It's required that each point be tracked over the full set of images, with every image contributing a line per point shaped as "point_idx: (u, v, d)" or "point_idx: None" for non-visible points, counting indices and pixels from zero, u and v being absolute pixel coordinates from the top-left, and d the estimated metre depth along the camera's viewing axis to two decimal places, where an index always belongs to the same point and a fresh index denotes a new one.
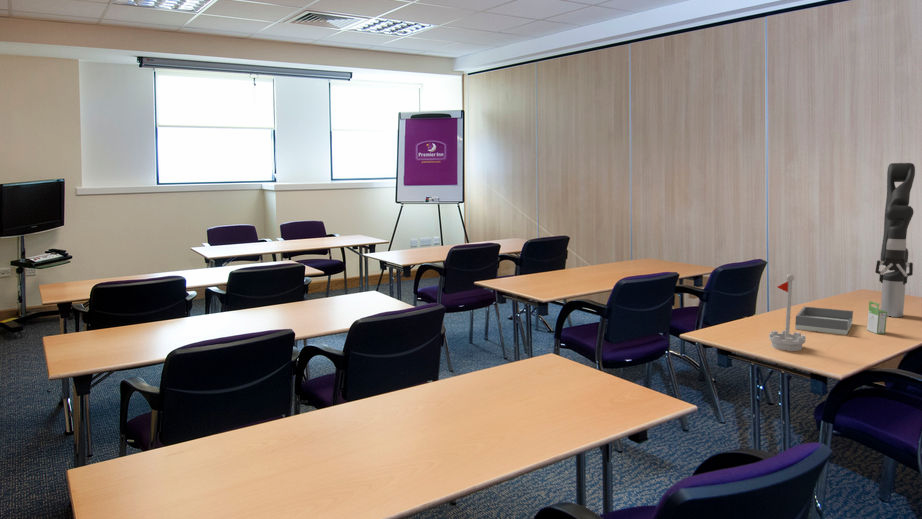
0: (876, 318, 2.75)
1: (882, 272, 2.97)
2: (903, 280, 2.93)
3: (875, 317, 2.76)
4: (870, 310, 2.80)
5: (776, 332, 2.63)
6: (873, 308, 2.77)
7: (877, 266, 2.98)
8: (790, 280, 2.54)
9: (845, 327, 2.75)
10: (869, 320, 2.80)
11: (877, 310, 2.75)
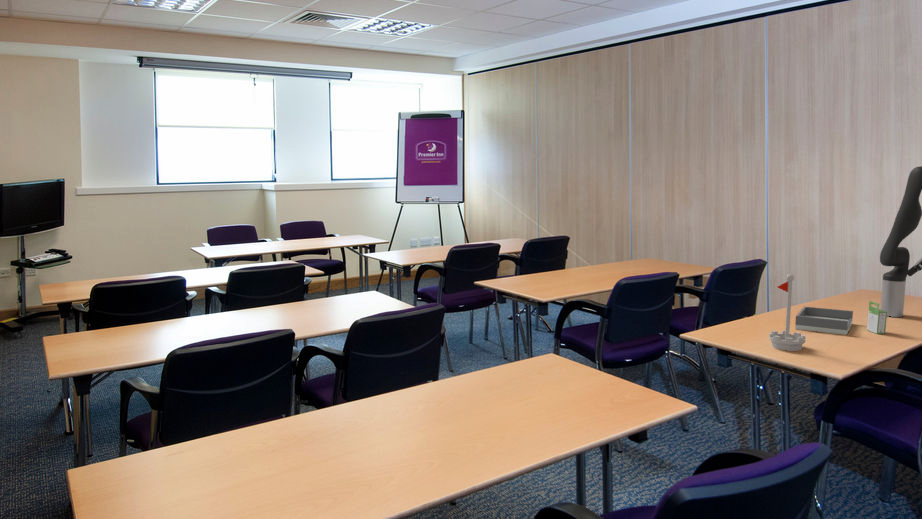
0: (876, 318, 2.75)
1: None
2: None
3: (875, 317, 2.76)
4: (870, 310, 2.80)
5: (776, 332, 2.63)
6: (873, 308, 2.77)
7: None
8: (790, 280, 2.54)
9: (845, 327, 2.75)
10: (869, 320, 2.80)
11: (877, 310, 2.75)
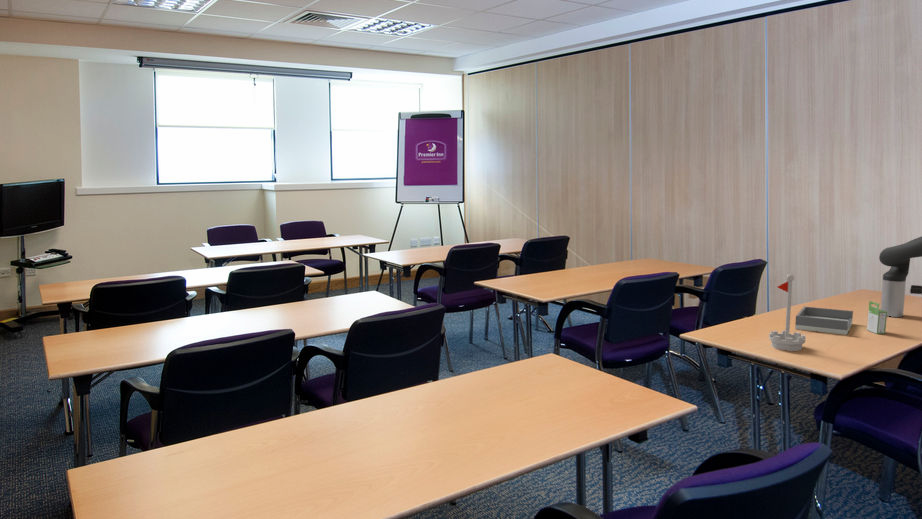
0: (876, 318, 2.75)
1: None
2: None
3: (875, 317, 2.76)
4: (870, 310, 2.80)
5: (776, 332, 2.63)
6: (873, 308, 2.77)
7: None
8: (790, 280, 2.54)
9: (845, 327, 2.75)
10: (869, 320, 2.80)
11: (877, 310, 2.75)
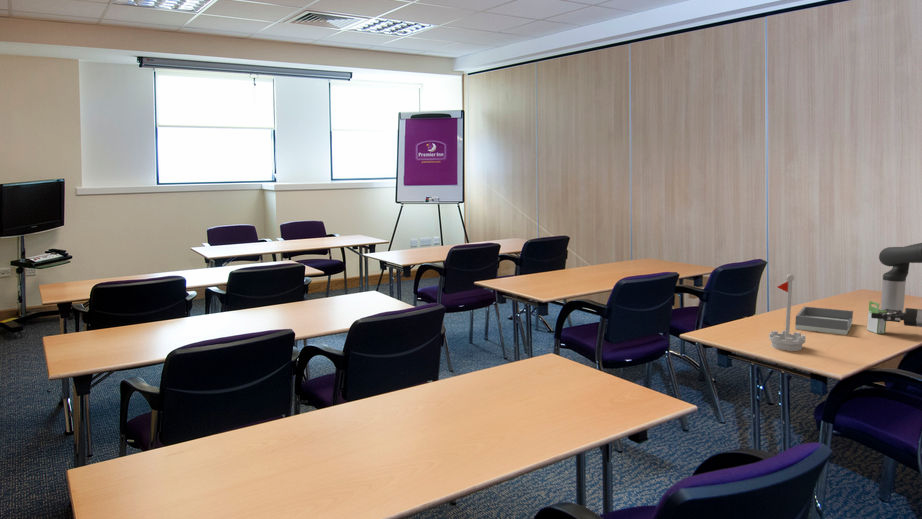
0: None
1: None
2: None
3: None
4: (870, 310, 2.80)
5: (776, 332, 2.63)
6: (873, 308, 2.77)
7: None
8: (791, 280, 2.54)
9: (845, 327, 2.75)
10: (869, 320, 2.80)
11: (877, 310, 2.75)
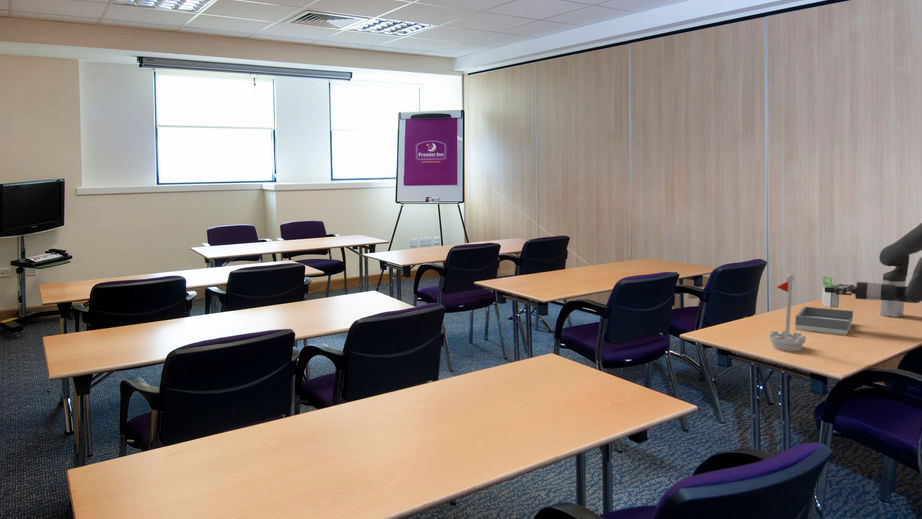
0: None
1: None
2: None
3: None
4: (824, 285, 2.89)
5: (776, 332, 2.63)
6: (827, 283, 2.86)
7: (843, 294, 2.78)
8: (791, 280, 2.54)
9: (845, 327, 2.75)
10: (823, 295, 2.89)
11: (830, 284, 2.84)
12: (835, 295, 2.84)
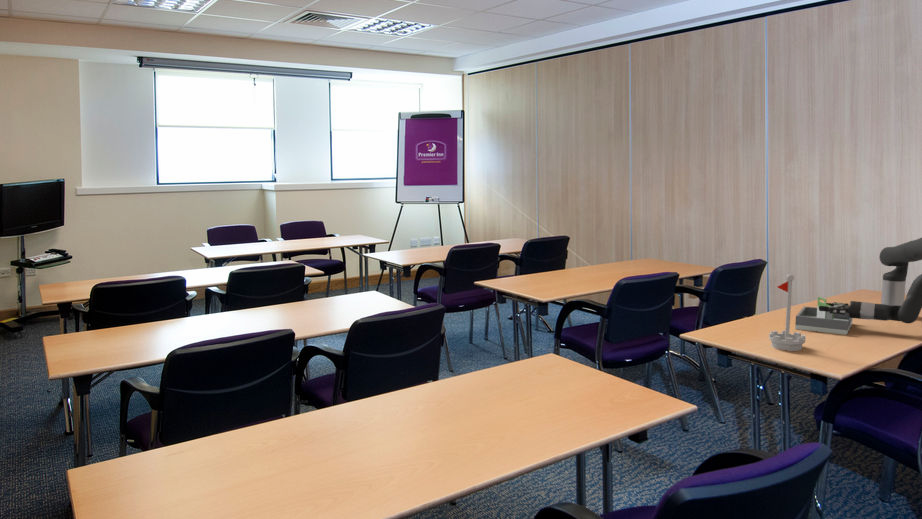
0: (824, 313, 2.87)
1: None
2: None
3: (823, 312, 2.88)
4: (818, 306, 2.91)
5: (776, 332, 2.63)
6: (821, 303, 2.89)
7: None
8: (790, 280, 2.54)
9: (845, 327, 2.75)
10: (818, 315, 2.92)
11: (824, 305, 2.86)
12: (829, 316, 2.86)
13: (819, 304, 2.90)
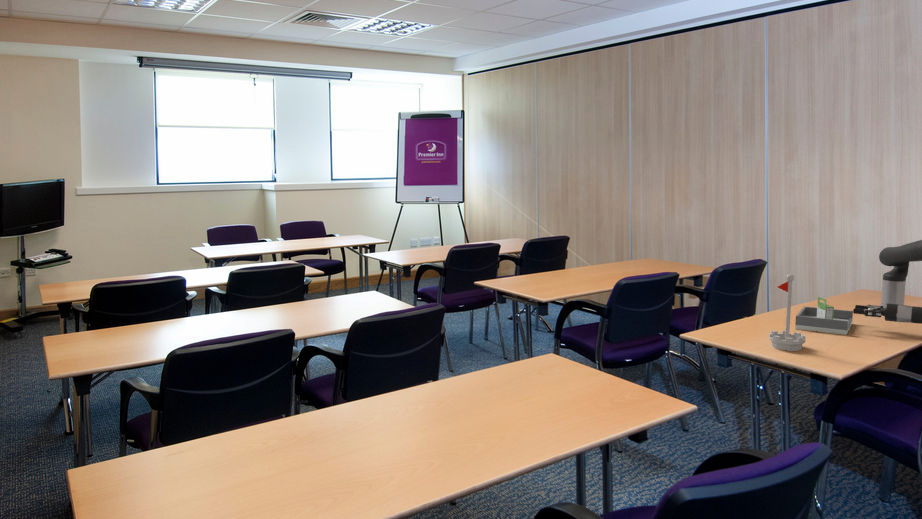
0: (824, 313, 2.87)
1: None
2: None
3: (823, 312, 2.88)
4: (818, 306, 2.91)
5: (776, 332, 2.63)
6: (821, 303, 2.89)
7: None
8: (791, 280, 2.54)
9: (845, 327, 2.75)
10: (818, 315, 2.92)
11: (824, 305, 2.86)
12: (829, 316, 2.86)
13: (819, 304, 2.90)
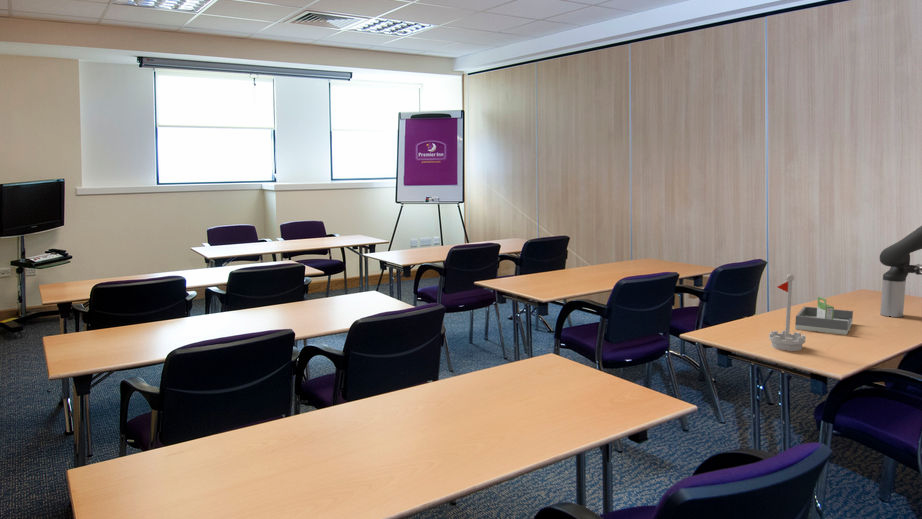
0: (824, 313, 2.87)
1: None
2: None
3: (823, 312, 2.88)
4: (818, 306, 2.91)
5: (776, 332, 2.63)
6: (821, 303, 2.89)
7: None
8: (791, 280, 2.54)
9: (845, 327, 2.75)
10: (818, 315, 2.92)
11: (824, 305, 2.86)
12: (829, 316, 2.86)
13: (819, 304, 2.90)
